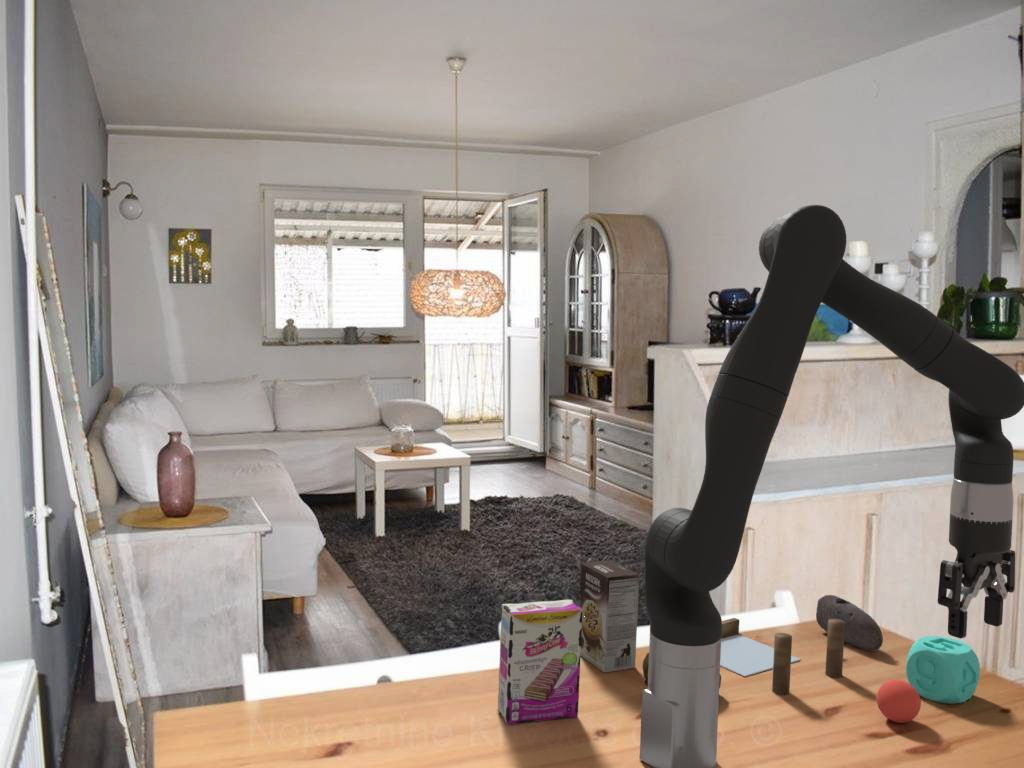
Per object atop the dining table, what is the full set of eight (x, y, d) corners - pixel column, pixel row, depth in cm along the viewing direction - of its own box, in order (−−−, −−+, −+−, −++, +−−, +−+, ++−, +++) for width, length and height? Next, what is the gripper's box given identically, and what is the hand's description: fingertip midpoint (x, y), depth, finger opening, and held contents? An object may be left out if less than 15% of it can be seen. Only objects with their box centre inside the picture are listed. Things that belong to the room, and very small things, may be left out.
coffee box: (576, 654, 161) (579, 562, 159) (608, 649, 163) (611, 558, 162) (603, 673, 152) (606, 576, 151) (637, 668, 155) (640, 572, 154)
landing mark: (744, 677, 152) (744, 675, 152) (683, 649, 164) (683, 648, 164) (800, 660, 160) (800, 659, 160) (738, 635, 172) (738, 634, 172)
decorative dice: (978, 696, 147) (982, 646, 146) (953, 709, 142) (957, 658, 141) (929, 679, 153) (932, 632, 152) (903, 691, 148) (906, 642, 147)
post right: (835, 679, 152) (838, 625, 151) (822, 673, 154) (824, 620, 154) (845, 675, 154) (848, 622, 153) (832, 670, 156) (834, 617, 155)
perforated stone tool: (891, 656, 163) (894, 617, 163) (867, 659, 161) (869, 620, 161) (835, 627, 177) (837, 591, 177) (812, 630, 175) (814, 594, 175)
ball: (903, 733, 133) (906, 692, 133) (866, 717, 138) (869, 678, 137) (928, 723, 136) (930, 683, 136) (891, 708, 141) (893, 670, 141)
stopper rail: (675, 649, 164) (676, 635, 164) (670, 647, 165) (671, 633, 165) (738, 632, 173) (739, 619, 173) (733, 630, 174) (734, 617, 174)
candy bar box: (507, 727, 132) (509, 614, 131) (497, 712, 137) (499, 603, 136) (580, 718, 136) (583, 607, 134) (568, 703, 141) (571, 597, 139)
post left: (781, 696, 145) (784, 639, 144) (768, 690, 147) (771, 634, 146) (792, 692, 146) (795, 636, 146) (779, 687, 149) (782, 631, 148)
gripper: (977, 525, 118) (971, 650, 120) (1037, 511, 126) (1031, 628, 127) (923, 514, 125) (918, 632, 126) (984, 501, 132) (978, 613, 134)
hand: (975, 630), depth 127 cm, fingers open, 8 cm apart
